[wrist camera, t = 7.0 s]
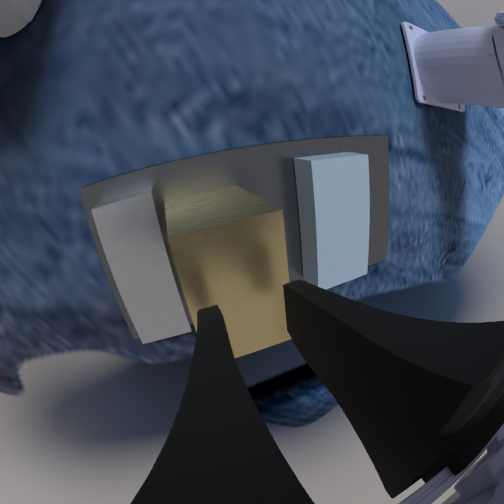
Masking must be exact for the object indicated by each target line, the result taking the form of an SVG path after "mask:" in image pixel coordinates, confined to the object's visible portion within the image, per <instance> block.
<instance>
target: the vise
mask: <svg viewBox="0 0 504 504" xmlns="http://www.w3.org/2000/svg"><path fill="white" fill-rule="evenodd" d="M342 152H352V153H360V154H368V161H369V190H370V222H369V251H368V266H370V265H373V264H376V263H378V262H381V261H383V260H386V254H387V241H388V222H389V155H388V138H387V136H385V135H360V136H339V137H324V138H311V139H301V140H291V141H282V142H274V143H266V144H259V145H252V146H246V147H239V148H233V149H228V150H222V151H217V152H211V153H206V154H201V155H196V156H192V157H187V158H182V159H178V160H174V161H169V162H165V163H161V164H157V165H153V166H149V167H146V168H142V169H138V170H135V171H131V172H128V173H124V174H121V175H117V176H114V177H111V178H108V179H104V180H101V181H98V182H95V183H92V184H89V185H86V186H83V187H82V188H80V189H79V191H80V195H81V199H82V203H83V206H84V210H85V213H86V217H87V220H88V224H89V227H90V230H91V233H92V236H93V239H94V242H95V245H96V248H97V251H98V254H99V257H100V260H101V262H102V265H103V268H104V270H105V273H106V276H107V278H108V281H109V283H110V286H111V288H112V291H113V293H114V295H115V298H116V300H117V302H118V305H119V307H120V309H121V311H122V314H123V316H124V318H125V320H126V322H127V324H128V326H129V328H130V331H131V333H132V335H133V337H134V339H137V338H140V339H141V341H142V343H143V344H145V343H149V342H153V341H157V340H161V339H165V338H169V337H173V336H176V335H180V334H184V333H188V332H191V326H190V325H191V324H193V321H192V318H191V315H190V312H189V308H188V305H187V302H186V299H185V296H184V293H183V289H182V286H181V283H180V279H179V276H178V273H177V269H176V266H175V262H174V259H173V255H172V251H171V248H170V244H169V240H168V235H167V225H166V214H165V203H164V202H167V201H170V200H174V199H178V198H182V197H187V196H191V195H195V194H199V193H204V192H208V191H212V190H217V189H221V188H226V187H231V186H236V185H237V186H239V187H241V188H243V189H244V190H246V191H248V192H250V193H252V194H254V195H256V196H258V197H260V198H262V199H263V200H265V201H267V202H269V203H271V204H273V205H275V206H276V207H278V208H280V209H282V211H283V220H284V230H285V240H286V251H287V262H288V273H289V282H292V281H296V280H299V279H300V280H303V281H305V282H307V281H306V280H305V279H304V278H303V262H302V246H301V232H300V220H299V208H298V197H297V186H296V176H295V167H294V158H299V157H306V156H314V155H323V154H332V153H342Z"/></svg>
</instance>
